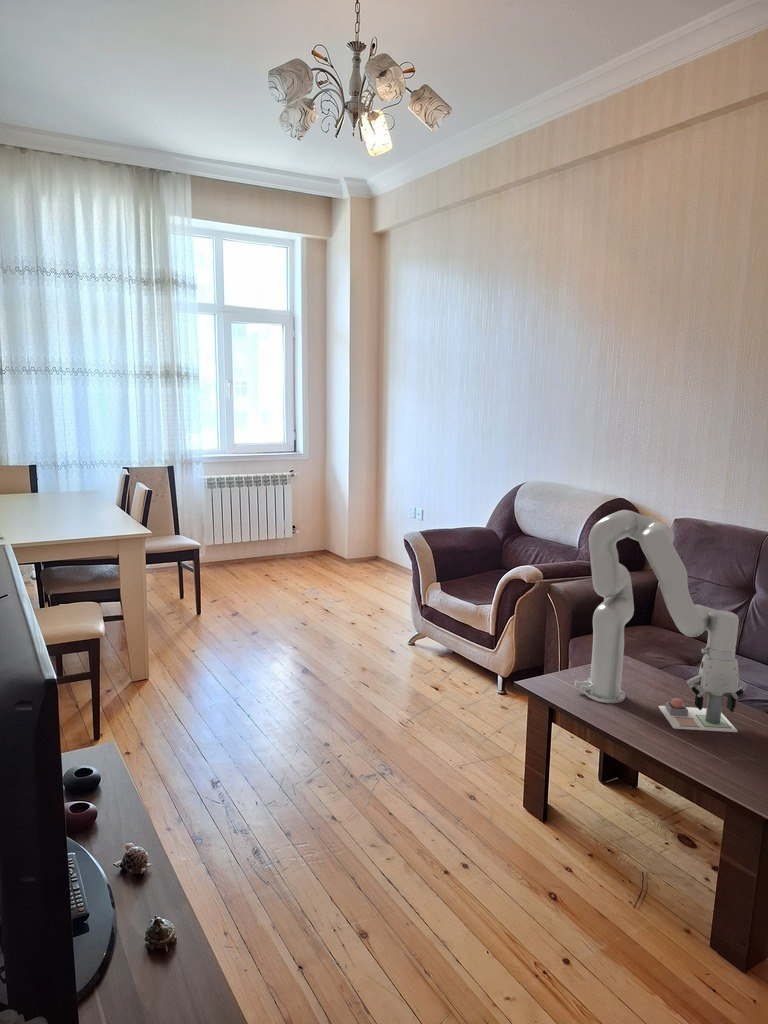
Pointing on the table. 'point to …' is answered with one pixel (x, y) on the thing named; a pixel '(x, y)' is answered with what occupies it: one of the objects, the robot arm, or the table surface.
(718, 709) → the cylinder
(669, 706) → the picture board
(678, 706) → the button
